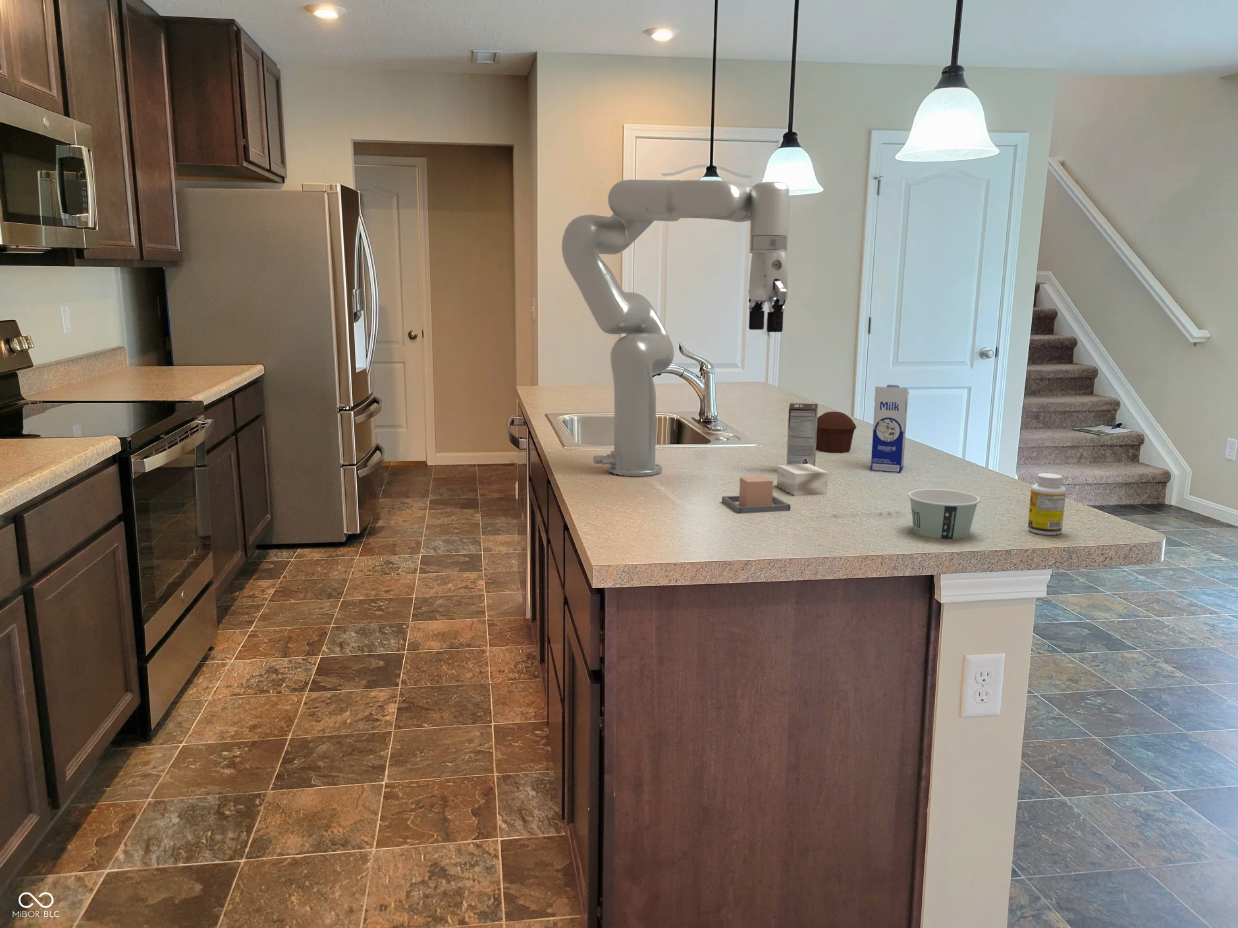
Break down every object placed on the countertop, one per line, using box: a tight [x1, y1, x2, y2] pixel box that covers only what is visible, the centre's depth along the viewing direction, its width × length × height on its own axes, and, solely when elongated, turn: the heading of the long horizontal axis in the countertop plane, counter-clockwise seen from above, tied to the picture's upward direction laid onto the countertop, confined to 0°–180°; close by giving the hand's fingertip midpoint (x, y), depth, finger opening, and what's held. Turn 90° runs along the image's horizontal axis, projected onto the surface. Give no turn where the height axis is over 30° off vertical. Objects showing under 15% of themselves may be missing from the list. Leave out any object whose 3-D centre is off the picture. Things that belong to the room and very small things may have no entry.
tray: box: [721, 494, 791, 514], centre depth 173 cm, size 10×9×2 cm
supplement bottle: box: [1027, 472, 1067, 536], centre depth 160 cm, size 6×6×10 cm
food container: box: [907, 488, 981, 540], centre depth 160 cm, size 12×12×6 cm
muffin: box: [816, 411, 857, 454], centre depth 238 cm, size 12×11×10 cm
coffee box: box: [786, 402, 819, 467], centre depth 206 cm, size 9×6×16 cm
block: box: [738, 475, 774, 507], centre depth 173 cm, size 5×4×6 cm
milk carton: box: [870, 384, 910, 473], centre depth 212 cm, size 7×7×20 cm
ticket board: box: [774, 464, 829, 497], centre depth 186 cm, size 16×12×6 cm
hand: (765, 330), depth 188 cm, fingers open, 9 cm apart
